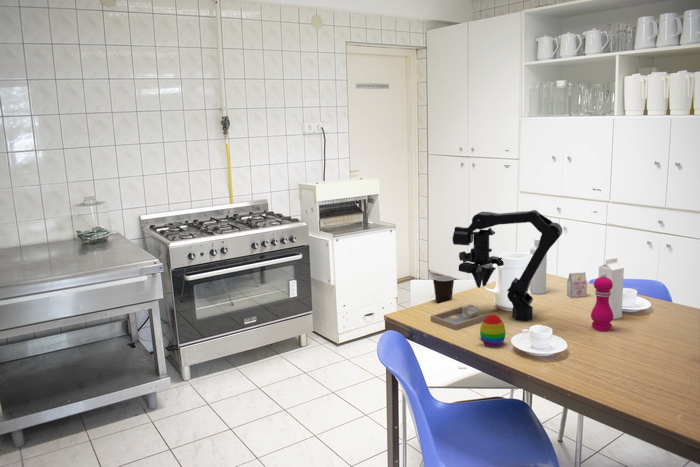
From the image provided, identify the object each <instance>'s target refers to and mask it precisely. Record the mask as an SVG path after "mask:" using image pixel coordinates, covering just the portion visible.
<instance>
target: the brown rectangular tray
mask: <svg viewBox="0 0 700 467" xmlns="http://www.w3.org/2000/svg"><path fill="white" fill-rule="evenodd" d="M489 315H490V314H489V313H485V314H481V315H478V317H476V318H472V319H468V318H465V317H463V306H459V307H456V308H452V309H449V310H445V311H442V312H440V313H439V312H438V313H436V314H432V315H430V322H433V323H434V324H436V325H437V324H438V325H440V326H443V327H446V328H448V329H451V330H455V331H458V330H462V329H465V328H467V327H470V326H474V325H476V324H480V323H482V322H483V321H484V319H485V318H486V317H487V316H489ZM452 316H453V317H454V316H457V317H455V318H452Z"/></svg>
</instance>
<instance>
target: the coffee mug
mask: <svg viewBox="0 0 700 467" xmlns="http://www.w3.org/2000/svg"><path fill="white" fill-rule="evenodd" d="M432 281H433V289H434V295H435V302H436V304H443V303H445V302H450V301H452V300H453V291H454V283H455V277H453V276H450V275H437V276H434V277H433V278H432Z"/></svg>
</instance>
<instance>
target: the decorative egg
mask: <svg viewBox="0 0 700 467" xmlns="http://www.w3.org/2000/svg"><path fill="white" fill-rule="evenodd" d="M479 336H480V339H481V340H482V341H483V344H484V345H486V346H489V347H498V346H501V345H502V344H503V343H504V341H505V338H506V327H505V325H504V322H503V320H502V318H500V317H499V316H498V315H497V314H489V316H487V317H486V318H485V319H484V321H483V322H481V325H480V330H479Z"/></svg>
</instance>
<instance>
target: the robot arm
mask: <svg viewBox="0 0 700 467" xmlns="http://www.w3.org/2000/svg"><path fill="white" fill-rule="evenodd" d="M523 223H525V224H526V223H530V224H532V225H533V226H534V227H535V229H536V230H537V231H538V232H539V233H541V234H540V235H541V236H540V237H539V238H540V241H539V245H538V247H537V249H536V251H535V253H534V254H533V256H532V258H531V260H530V259H529V262H528V264H526V267H525V269H524V270H523V272H522V274H521V276H520V277H519V279H518V278H517V277H515V278H514V279H513V280H512V282H511V283H510V286H509V287H508V288H507V290H506V291H507V300H509V302H511V305H512V309H511V312H512V313H511V314H512V315H511V316H512V318H514V319H515V320H516V321H520V322H529V321H532V320H533V306H532V302H533V300H534V298H533V297H532V295H531V294H530V293H529V292H528V291H529V290H530V282H531V280H532V278H533V276H534V274H535V273H536V271H537V269H538V267H539V266H540V264H541V262H542V260H543V259H544V257H545V255H546V253H547V254H548V252H549V250H550V248H551V247H552V246H554V244H555V243H556V242H557V241H558V239H559V238H560V237H561V236H562V234H563V227H562V226H561V225H560V224H559V223H557V222H553V221H552V220H551V219H549V218H547V217H546V216H544V215H543V214H541V213H540V212H539V211H538V210H535V209H533V210H526V211H514V212H502V213H501V212H500V213H497V212H490V211H480V212H478V213H476V214H474V215H473V217H472V218H471V223H470V225H469V226H468V227H464V226H462V227H461V226H455V227H454V231H453V234H452V244H453V245H455V246H456V245H457V246H470V244H473V247H472V248H471V249H470V252H468V253H467V252H466V251H460V252H459V253H458V258H459V261H462V262H461V263H459V265H458V271H459V272H462V273H466V274H471V275H472V276H473V280H474V282H475V285H476V287H477V288H479V289H480V288H481V286H482V287H486V285H487V283H488V282H489V281H490V278H491V276H492V275H493V273H494V271H495V270H496V267H502V266H504V265H505V264H504V263H505V262H503V261H502V260H501V259H503V257H500V258H499V256H495V255H492V256H490V253H492V252H493V251H492V248H490V236H494V235H495V234H496V232H495V230H493V229H492V227H494V226H498V225H510V224H513V225H514V224H523ZM476 230H479V231H476ZM494 265H497V266H496V267H494Z"/></svg>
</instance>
